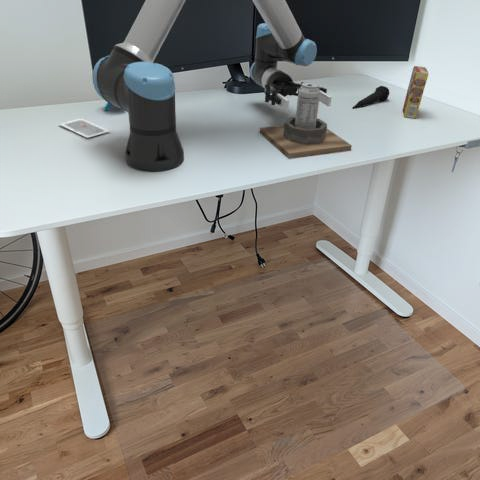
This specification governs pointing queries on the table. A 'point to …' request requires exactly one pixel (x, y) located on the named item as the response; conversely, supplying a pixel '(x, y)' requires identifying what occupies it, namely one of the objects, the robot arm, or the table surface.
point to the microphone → (374, 97)
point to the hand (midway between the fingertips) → (309, 103)
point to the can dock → (303, 148)
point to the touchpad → (84, 127)
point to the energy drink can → (307, 105)
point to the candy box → (415, 91)
